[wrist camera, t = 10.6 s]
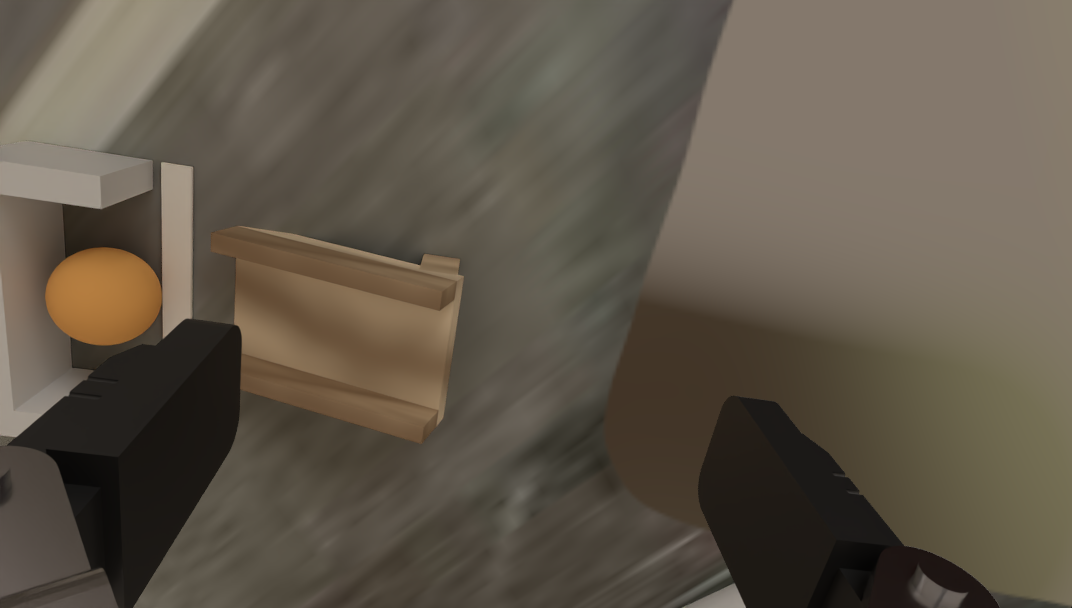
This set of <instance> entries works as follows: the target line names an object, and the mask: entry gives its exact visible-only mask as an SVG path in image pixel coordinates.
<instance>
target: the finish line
mask: <svg viewBox="0 0 1072 608" xmlns="http://www.w3.org/2000/svg"><path fill="white" fill-rule="evenodd" d="M161 195H162V298H163V339H164V338H165V337H166V336H167V335H168V334H169V333H170V332H171V331H172V330H173V329H174V328H175V327H176V326H177V325H178V324H180V323H181V322H182V321H183V320H184V319H187V318H188V319H192V317H193V167H191V166H185V165H178V164H172V163H166V162H162V163H161Z"/></svg>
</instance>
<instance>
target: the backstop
mask: <svg viewBox="0 0 1072 608" xmlns="http://www.w3.org/2000/svg"><path fill="white" fill-rule="evenodd" d="M152 189H153V160H147V159H140V158H134V157H128V156H121V155H115V154H109V153H102V152H96V151H90V150H83V149H77V148H71V147H64V146H58V145H52V144H45V143H39V142H33V141H22V142H16V143H10V144H5V145H0V435H2V436H11V437H17V436H18V435H19V434H21V433H22V432H23V431H24V430H25V429H27V428H28V427H29V426H30V425H31V424H32V423H34V422H35V421H36V420H37V419H38V418H39V417H41V416H42V415H43V414H44V413H45V412H46V411H48V410H49V409H50V408H51V407H52V406H53V405H55V404H56V403H57V402H58V401H59V400H61V399H62V398H63V397H64V396H69V393H70V391H71V390H72V389H73V388H75V387H76V386H77V385H78V384H79V383H80V382H82V381H83V380H87V379H88V376H89V375H90V374H91V373H92V372H93V371H95V370H88V369H80V368H72V357H71V340H70V336H69V335H67V334H66V333H64V332H63V331H62V330H61V329H60V328H59V327H58V326H57V325H56V324H55V323H54V321H53V320H52V318H51V316H50V315H49V312H48V310H47V306H46V300H45V291H46V286H47V283H48V280H49V278H50V276H51V274H52V272H53V271H54V270H55V268H56V267H57V266H58V265H59V264H60V263H61V262H62V261H63V260H65V259H66V256H65V239H64V222H63V205H62V203H63V204H70V205H77V206H83V207H90V208H97V209H103V208H106V207H108V206H111V205H113V204H116V203H119V202H121V201H124V200H126V199H129V198H132V197H134V196H137V195H139V194H142V193H145V192H147V191H150V190H152Z"/></svg>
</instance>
